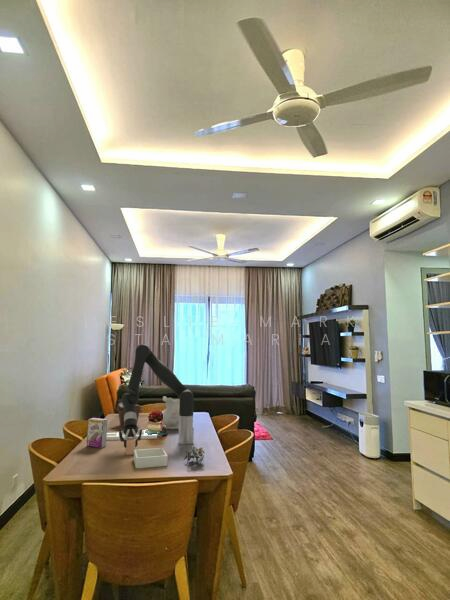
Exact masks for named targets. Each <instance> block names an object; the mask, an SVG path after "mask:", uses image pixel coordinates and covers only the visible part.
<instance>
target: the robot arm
mask: <svg viewBox="0 0 450 600" xmlns="http://www.w3.org/2000/svg"><path fill="white" fill-rule="evenodd" d="M145 363H146V364H147V365H148V366H149V368H150V369H151V371H152V373H154V375H155V376H156V377H157V378H158V379H159V380H160V382H162V383H163V384H164V385H166V387H167V388H169V389H171V390H172V391H173V392H174V393H175V395H176V396H177V397H178V399H180V408H179V429H178V444H181V445H191V444H194V439H195V438H194V437H195V436H194V435H195V434H194V433H195V432H194V430H195V428H194V409H195V408H194V407H195V406H194V405H195V403H194V402H195V396H194V392H192V391H191V390H190V389H188V387H186V386H185V385H184V384H183V383H182V382H181V381H180V379H178V377H177V376H176V374H175V373H174V372H173V371H172V370H171V369H170V368H169V367H168V366H167V365H166V364H165V363H164V362H163V361H162V360H160V359H159V358H158V357H157V356H156V355H155V354H154V352H153V350H151V348H150V347H149V346H148V345H147V344H139V345H138V346H137V347H136V349H135V358H134V363H133V366H132V367H133V368H132V370H131V375H130V377H129V380H128V381H129V382H128V385H127V389H128V390H129V391H132V392H133V393H129V392H125V393H123V394H122V396H121V402H122V404H123V407H124V411H125V416H124V427H123V430H119V431H118V432H119V437H120V442H121V443H122V442H123V447H124V448H125V449H126V439H127V438H128V437H133V438H135V440H136V442H135V448H137V447H138V442H139V441H141V440H142V439H141V435H143V434H142V430H143V429H139V428H138V422H137V417H136V407H135V405H138V403H139V397H140V396H139V389H140V385H141V382H142V378H143V377H142V376H143V371H144V370H143V369H144V366H145ZM137 432H138V435H139V437H138V438H137V436H136V433H137ZM123 433H124V434H125V438H123V436H122V435H123Z"/></svg>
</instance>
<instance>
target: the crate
mask: <svg viewBox="0 0 450 600" xmlns="http://www.w3.org/2000/svg"><path fill="white" fill-rule="evenodd" d="M168 458H169V456H168V454H167V452H166V451H165V448H163V447H158V448H155V447H154V448H141V449H135V450H134V454H133V462H134V466H135V469H145V468H157V467H168Z"/></svg>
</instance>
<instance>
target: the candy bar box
mask: <svg viewBox="0 0 450 600" xmlns="http://www.w3.org/2000/svg"><path fill="white" fill-rule="evenodd" d="M107 433H108V419H107V418H98V417H92V418H89V419H87V437H86V447H90V448H99V449H102V448H106V446H107V440H106V437H107Z"/></svg>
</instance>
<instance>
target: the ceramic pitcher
mask: <svg viewBox="0 0 450 600" xmlns="http://www.w3.org/2000/svg"><path fill="white" fill-rule="evenodd" d="M162 401H163V402H165V406H166V407H165V408H164V410H162V411H161V412H162V413H163V423H162V424H163V425H165V427H164V430H166V429H169V430H179V408H180V399H179V398H172V397H167V396H166V395H164V396H162Z"/></svg>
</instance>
